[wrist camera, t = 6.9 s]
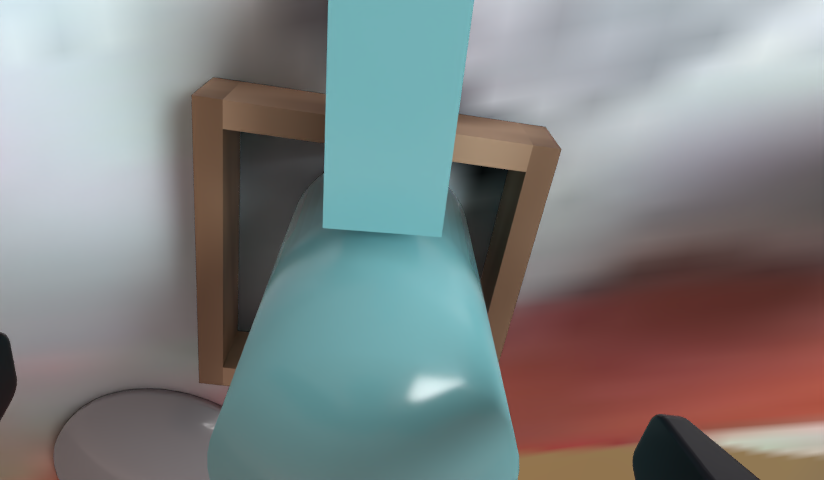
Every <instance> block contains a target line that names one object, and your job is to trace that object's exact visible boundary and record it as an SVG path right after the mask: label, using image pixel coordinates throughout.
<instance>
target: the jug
mask: <svg viewBox="0 0 824 480" xmlns="http://www.w3.org/2000/svg"><path fill="white" fill-rule="evenodd" d="M473 4H474V0H328V30H327V71H326V112H325V153H324V174H322V175H321V176H319V177H318V178H317V179H316V180H315V181H314V182H313V183H312V184H311V185H310V186H309V187H308V188H307V190H306V191H305V192H304V193H303V195H302V197H301V198H300V200H299V202H298V204H297V206H296V209H295V211H294V214H293V217H292V219H291V222H290V225H289V227H288V230H287V233H286V236H285V238H284V241H283V244H282V246H281V249H280V252H279V254H278V257H277V260H276V262H275V265H274V268H273V271H272V273H271V276H270V279H269V281H268V284H267V287H266V289H265V292H264V295H263V298H262V300H261V303H260V306H259V308H258V311H257V314H256V316H255V319H254V322H253V325H252V327H251V330H250V333H249V335H248V338H247V341H246V343H245V346H244V349H243V352H242V354H241V357H240V360H239V362H238V365H237V368H236V370H235V373H234V376H233V379H232V381H231V384H230V387H229V389H228V392H227V395H226V397H225V400H224V403H223V406H222V408H221V411H220V414H219V416H218V419H217V422H216V424H215V427H214V430H213V433H212V435H211V438H210V442H209V447H208V452H207V469H208V474H209V478H210V480H518V474H519V454H518V449H517V444H516V440H515V435H514V431H513V426H512V422H511V417H510V413H509V408H508V404H507V399H506V395H505V390H504V386H503V381H502V377H501V372H500V368H499V363H498V359H497V355H496V350H495V346H494V341H493V337H492V332H491V328H490V323H489V319H488V314H487V310H486V305H485V301H484V296H483V292H482V287H481V283H480V278H479V274H478V270H477V265H476V261H475V256H474V252H473V247H472V243H471V238H470V234H469V229H468V225H467V220H466V216H465V213H464V211H463V208H462V206H461V204H460V202H459V200H458V199H457V197H456V195H455V194H454V193H453V191H452V190H451V189H450V188H449V187H448V186H449V179H450V172H451V165H452V157H453V150H454V143H455V135H456V128H457V121H458V114H459V106H460V99H461V92H462V84H463V77H464V70H465V62H466V55H467V48H468V41H469V33H470V26H471V19H472V11H473Z"/></svg>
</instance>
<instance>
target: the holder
mask: <svg viewBox="0 0 824 480" xmlns="http://www.w3.org/2000/svg"><path fill="white" fill-rule="evenodd" d="M191 96H192V133H193V171H194V208H195V245H196V282H197V319H198V356H199V383H205V384H215V385H225V386H230V384H231V381H232V379H233V376H234V373H235V370H236V368H237V365H238V362H239V360H240V357H241V354H242V352H243V349H244V346H245V343H246V341H247V338H248V335H249V333H250V332H243V331H238V271H239V201H240V132H247V133H254V134H261V135H268V136H276V137H283V138H290V139H297V140H304V141H311V142H318V143H325V112H326V94H321V93H315V92H308V91H301V90H295V89H288V88H281V87H275V86H268V85H261V84H255V83H248V82H241V81H235V80H228V79H221V78H215V77H213V78H212V79H211V80H209V81H208V82H207V83H206V84H205V85H203V86H202V87H201V88H200V89H198V90H197V91H196V92H195V93H193V94H192V95H191ZM560 152H561V148H560V147H559V145H558V144H557V143H556V141H555V140H554V138H553V137H552V136H551V134H550V133H549V131H548V130H547V129H546V127H542V126H535V125H528V124H522V123H515V122H508V121H502V120H495V119H488V118H482V117H475V116H468V115H462V114H458V121H457V128H456V135H455V143H454V150H453V157H452V162H459V163H466V164H473V165H480V166H487V167H494V168H501V169H508V173H507V177H506V181H505V185H504V189H503V193H502V197H501V201H500V205H499V209H498V213H497V217H496V221H495V224H494V228H493V232H492V236H491V240H490V244H489V248H488V252H487V256H486V260H485V264H484V268H483V272H482V276H481V280H480V283H481V287H482V292H483V296H484V301H485V305H486V310H487V314H488V319H489V323H490V328H491V332H492V337H493V341H494V346H495V350H496V355H497V359H498V363H499V360H500V356H501V353H502V349H503V346H504V343H505V339H506V336H507V332H508V329H509V326H510V322H511V319H512V315H513V312H514V309H515V305H516V302H517V298H518V295H519V292H520V288H521V285H522V281H523V278H524V275H525V271H526V268H527V264H528V261H529V258H530V254H531V251H532V247H533V244H534V241H535V237H536V234H537V231H538V227H539V224H540V220H541V217H542V214H543V210H544V207H545V203H546V200H547V197H548V193H549V190H550V186H551V183H552V180H553V176H554V173H555V169H556V166H557V163H558V159H559V156H560Z"/></svg>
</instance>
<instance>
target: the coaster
mask: <svg viewBox="0 0 824 480" xmlns="http://www.w3.org/2000/svg"><path fill="white" fill-rule="evenodd" d="M221 408H222V406H220V405H217V404H215V403H213V402H211V401H208V400H205V399H203V398H200V397H197V396H194V395H189V394H185V393H181V392H176V391H169V390H159V389H136V390H127V391H121V392H116V393H112V394H109V395H105V396H103V397H100V398H98V399H95V400H93V401H91V402H90V403H88V404H86V405H84V406H83V407H82V408H80V409H79V410H78V411H77V412H75V413H74V414H73V416H72V417H71V418H70V419H69V420H68V421H67V423H66V424H65V426H64V427H63V429H62V430H61V432H60V434H59V436H58V437H57V440H56V443H55V446H54V456H53V457H54V466H55V470H56V473H57V476H58V478H59V480H210V478H209V474H208V469H207V452H208V447H209V442H210V438H211V435H212V433H213V430H214V427H215V424H216V422H217V419H218V416H219V414H220V411H221Z"/></svg>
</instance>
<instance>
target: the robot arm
mask: <svg viewBox="0 0 824 480" xmlns="http://www.w3.org/2000/svg"><path fill="white" fill-rule="evenodd" d="M16 386H17V377H16V371H15V366H14V361H13V356H12V351H11V345H10V341H9V338H8V337H7V336H6V334H4V333H2V332H0V420H1V419H2V417H3V415H4V413H5V411H6V409H7V408H8V406H9V404H10V402H11V400H12V398H13V396H14V393H15V390H16ZM633 471H634V476H635V480H760V479H759V478H757V477H756V476H755V475H754V474H753V473H751V472H750V471H749V470H748V469H746V468H745V467H744V466H743V465H742V464H740V463H739V462H738V461H737V460H736V459H734V458H733V457H732V456H731V455H730V454H728V453H727V452H726V451H725V450H724V449H722V448H721V447H720V446H719V445H718V444H716V443H715V442H714V441H713V440H711V439H710V438H709V437H708V436H707V435H705V434H704V433H703V432H702V431H701V430H699V429H698V428H697V427H696V426H695V425H693V424H692V423H691V422H690V421H689V420H687V419H686V418H684V417H680V416H673V415H665V414H658V415H655V416H654V417H653V418H652V419H651V420H650V422H649V424H648V426H647V428H646V430H645V432H644V434H643V435H642V437H641V439H640V441H639V443H638V445H637V447H636V449H635V451H634V455H633Z"/></svg>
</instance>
